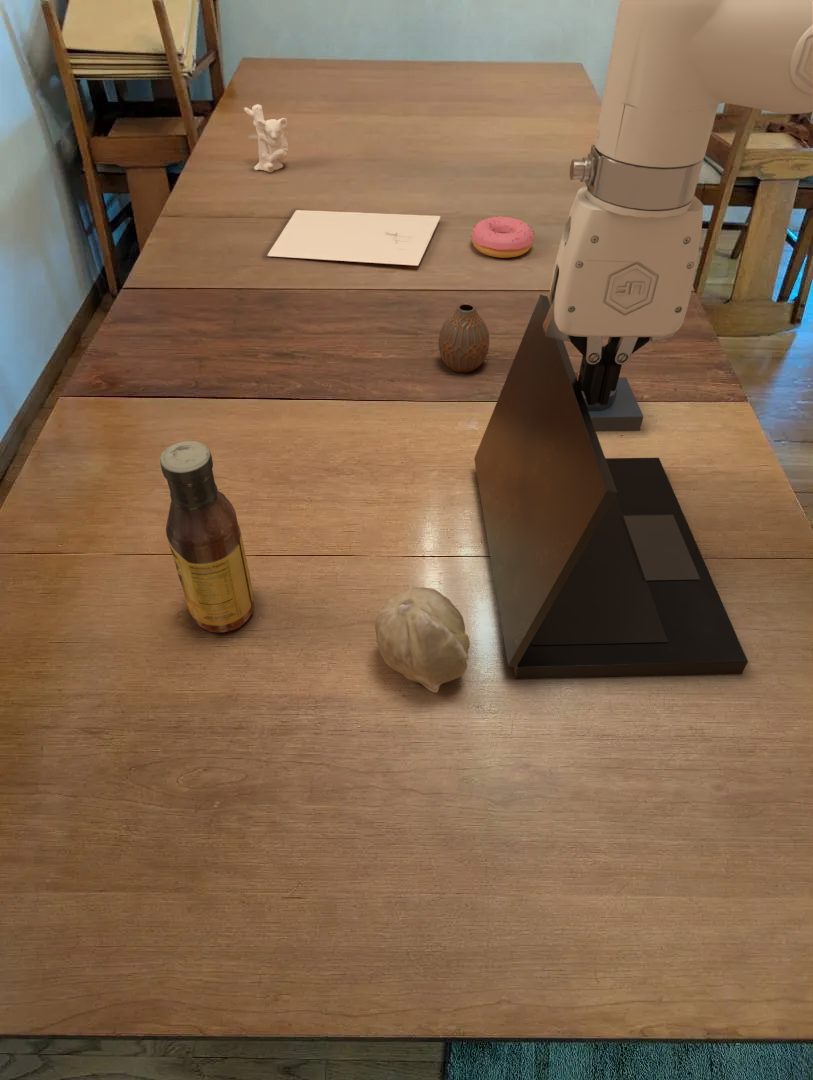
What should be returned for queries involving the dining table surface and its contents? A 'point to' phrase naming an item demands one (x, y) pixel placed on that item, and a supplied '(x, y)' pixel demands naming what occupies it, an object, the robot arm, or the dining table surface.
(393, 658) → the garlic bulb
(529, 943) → the dining table surface
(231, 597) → the sauce bottle
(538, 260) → the dining table surface
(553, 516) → the laptop screen
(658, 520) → the laptop
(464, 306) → the vase
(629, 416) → the switch box
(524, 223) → the doughnut
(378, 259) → the paper sheet
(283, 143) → the koala figurine
